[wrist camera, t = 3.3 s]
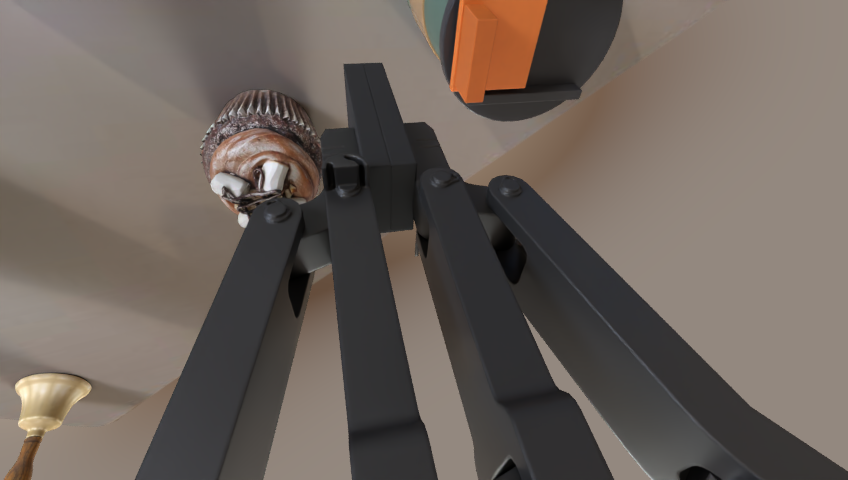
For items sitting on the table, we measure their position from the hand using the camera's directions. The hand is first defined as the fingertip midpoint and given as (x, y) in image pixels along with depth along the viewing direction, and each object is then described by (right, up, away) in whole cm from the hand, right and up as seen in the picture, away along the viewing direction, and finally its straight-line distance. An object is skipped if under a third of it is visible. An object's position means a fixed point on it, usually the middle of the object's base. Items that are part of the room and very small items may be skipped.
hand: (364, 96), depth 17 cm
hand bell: (-50, -27, +41) cm, 70 cm away
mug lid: (+8, +6, +6) cm, 12 cm away
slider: (+6, +5, +5) cm, 9 cm away
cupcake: (-12, +4, +20) cm, 24 cm away
